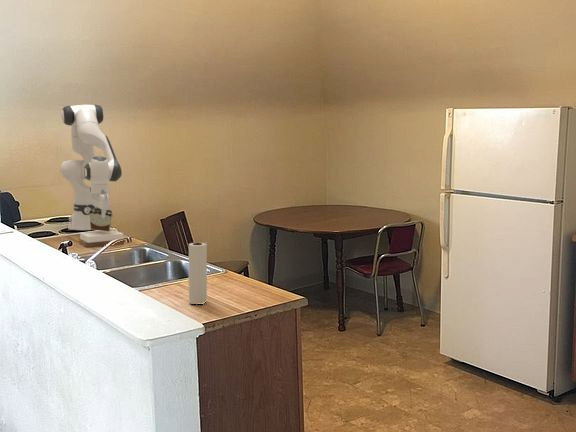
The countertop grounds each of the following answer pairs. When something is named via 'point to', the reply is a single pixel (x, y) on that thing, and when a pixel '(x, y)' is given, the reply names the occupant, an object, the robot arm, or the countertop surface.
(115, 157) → the robot arm
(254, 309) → the countertop surface
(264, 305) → the countertop surface
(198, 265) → the paper towel roll
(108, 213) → the food container
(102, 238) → the tower top
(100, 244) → the tower bottom
